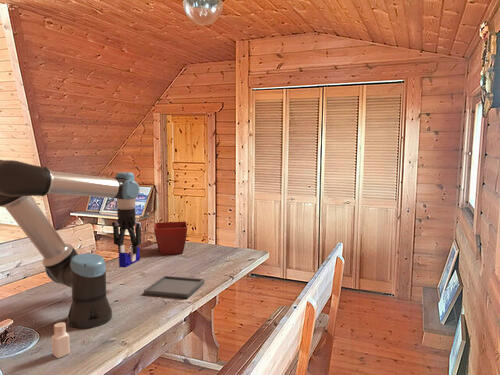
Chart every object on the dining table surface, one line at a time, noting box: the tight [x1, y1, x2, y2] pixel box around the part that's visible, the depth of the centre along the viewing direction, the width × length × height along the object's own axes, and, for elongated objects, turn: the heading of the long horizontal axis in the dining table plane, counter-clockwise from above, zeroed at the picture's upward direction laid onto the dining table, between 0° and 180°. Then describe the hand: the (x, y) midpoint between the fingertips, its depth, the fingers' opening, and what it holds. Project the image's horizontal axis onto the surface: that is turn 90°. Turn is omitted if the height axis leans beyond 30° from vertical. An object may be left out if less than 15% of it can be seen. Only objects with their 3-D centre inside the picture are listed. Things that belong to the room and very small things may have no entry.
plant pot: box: [153, 221, 188, 256], centre depth 240 cm, size 19×19×17 cm
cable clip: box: [118, 246, 141, 269], centre depth 174 cm, size 12×4×6 cm, turn 167°
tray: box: [143, 275, 205, 300], centre depth 177 cm, size 20×20×2 cm
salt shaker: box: [51, 322, 71, 359], centre depth 120 cm, size 4×4×10 cm
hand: (127, 260), depth 174 cm, fingers closed on cable clip, 4 cm apart
